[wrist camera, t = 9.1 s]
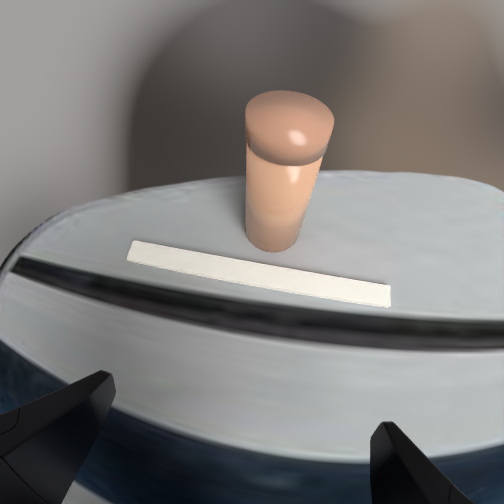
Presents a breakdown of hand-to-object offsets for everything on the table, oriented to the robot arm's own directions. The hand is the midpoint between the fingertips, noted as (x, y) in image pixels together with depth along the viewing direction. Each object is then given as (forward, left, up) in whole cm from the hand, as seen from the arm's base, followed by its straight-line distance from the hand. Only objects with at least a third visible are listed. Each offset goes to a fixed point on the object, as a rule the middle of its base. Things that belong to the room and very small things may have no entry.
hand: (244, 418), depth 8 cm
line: (+3, +10, -14) cm, 17 cm away
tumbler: (+4, +15, -14) cm, 21 cm away
